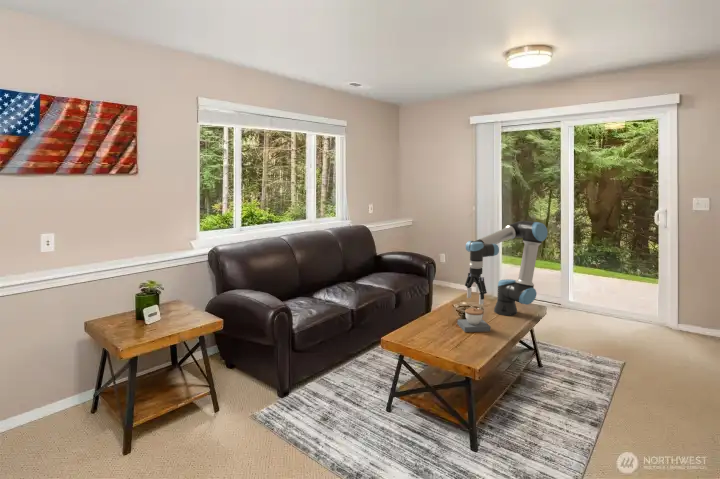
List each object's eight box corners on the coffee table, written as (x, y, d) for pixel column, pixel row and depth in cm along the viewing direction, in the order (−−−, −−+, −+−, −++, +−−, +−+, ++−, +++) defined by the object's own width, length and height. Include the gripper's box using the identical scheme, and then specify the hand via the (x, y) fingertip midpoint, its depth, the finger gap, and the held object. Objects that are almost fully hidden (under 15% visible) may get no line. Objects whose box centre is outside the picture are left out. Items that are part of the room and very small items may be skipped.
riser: (481, 323, 267) (481, 318, 266) (490, 331, 253) (490, 326, 252) (457, 324, 265) (457, 319, 265) (464, 332, 251) (464, 327, 251)
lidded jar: (483, 326, 253) (484, 311, 251) (465, 325, 255) (465, 310, 253) (481, 320, 263) (482, 306, 262) (464, 319, 265) (464, 305, 264)
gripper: (460, 263, 264) (459, 296, 267) (482, 272, 241) (481, 307, 244) (470, 262, 266) (469, 295, 269) (493, 271, 243) (492, 306, 246)
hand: (475, 301), depth 257 cm, fingers open, 13 cm apart
